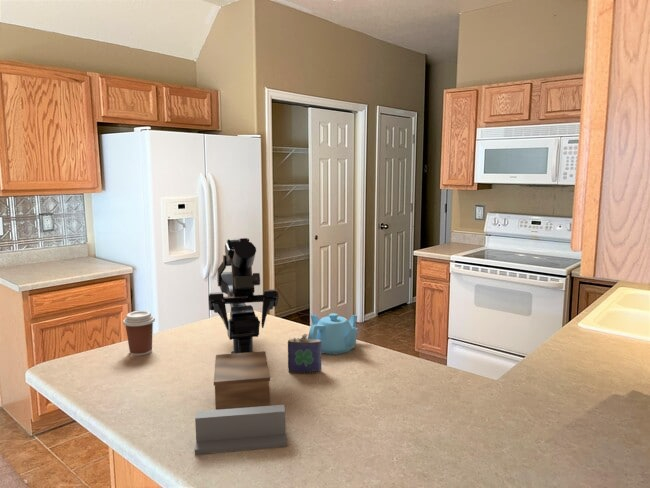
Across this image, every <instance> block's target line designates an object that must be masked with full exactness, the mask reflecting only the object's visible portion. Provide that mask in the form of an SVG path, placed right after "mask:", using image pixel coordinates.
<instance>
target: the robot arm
mask: <svg viewBox="0 0 650 488" xmlns="http://www.w3.org/2000/svg"><path fill="white" fill-rule="evenodd" d="M224 253H225V254H223V255H222V261H221V264H220V265H219V266H218V268H217V276H216V277H217V287H219V289H220V292H219V291H218V292H217V291H216V292H210V293H208V310H209V311H213V312H214V313H215V314H218V316H220V319H221V320H222V321H223V324H224V327H225V329H226V330H227V332H226V333H227V337H228V339H229V341H230V340H232V341H233V342H232V344H233V347H232V348H233V350H232V351H230V354H235V353H249V352H255V351H254V342H253V340H254V338H258V337H259V335H260V326H261V328H262V329H264V327H265V323H266V319H267V316H268V313H269V311H270V310H273V309H274V308H275V307H277V306H278V302H279V291H278V290H277V289H263V293H262V294H255V286H260V285H261V276H260V275H261V274H260V272H253V265H254V261H255V257H256V253H257V247H256V245H254V243H253V242H252V241H250V238H247V237H242V238H230V239H229V238H228V239H227V240H226V243H224ZM227 267H231V271H225V270H226V268H227ZM224 271H225V272H224ZM224 294H226V295H227V296H224ZM261 302H262V308H261V312H262V313H261V321H260V320H259V318H258V317H259V316H257V315H256V313H255V311H254V307H253V306H252V305H251V304H250V305H247V304H248V303H261ZM246 303H247V304H246ZM227 304H228V305H229V306H230V312H229V319H228V313H227V308H226V305H227ZM260 324H261V325H260Z"/></svg>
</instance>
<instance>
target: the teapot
mask: <svg viewBox="0 0 650 488" xmlns="http://www.w3.org/2000/svg"><path fill="white" fill-rule="evenodd" d="M310 319H311V323H312V324H311V325H310V328H309V332H308V334H307V340H315V339H319V340H321V354H326V355H341V354H345V353H349V352H351V350H352V349H354V347H355V346H356V344H357V334H358V331H359V328H357V327H356V326H357V321H358V315H357V314H351V316H350V318H349V319H347V318H345V317H343V316H339V314H338V313H333V312H332V313H329V314H328V316H327V315H326V316H323V317H321V318H320V319H319V318H318V315H317V314H311V315H310Z"/></svg>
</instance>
